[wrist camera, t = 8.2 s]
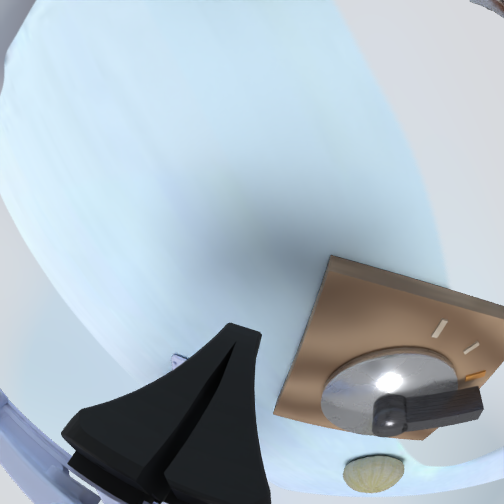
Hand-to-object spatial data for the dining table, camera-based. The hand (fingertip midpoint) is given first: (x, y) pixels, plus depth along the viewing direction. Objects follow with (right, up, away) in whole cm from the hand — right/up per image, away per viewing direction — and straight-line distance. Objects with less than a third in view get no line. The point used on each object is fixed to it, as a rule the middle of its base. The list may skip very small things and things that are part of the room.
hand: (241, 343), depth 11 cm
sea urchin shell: (+19, -27, +20) cm, 39 cm away
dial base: (+13, -7, +11) cm, 18 cm away
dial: (+13, -8, +9) cm, 18 cm away
